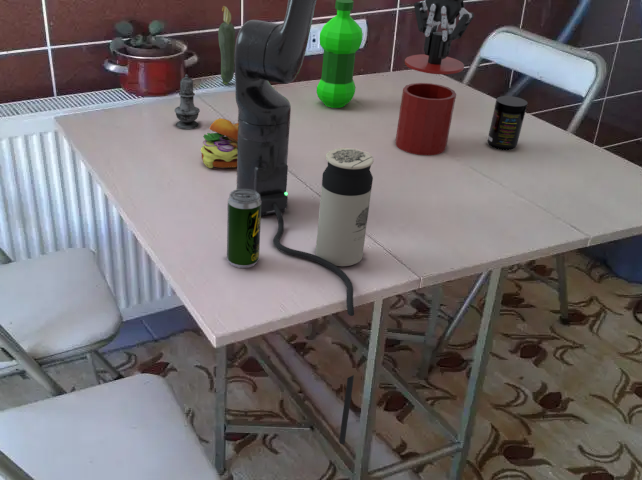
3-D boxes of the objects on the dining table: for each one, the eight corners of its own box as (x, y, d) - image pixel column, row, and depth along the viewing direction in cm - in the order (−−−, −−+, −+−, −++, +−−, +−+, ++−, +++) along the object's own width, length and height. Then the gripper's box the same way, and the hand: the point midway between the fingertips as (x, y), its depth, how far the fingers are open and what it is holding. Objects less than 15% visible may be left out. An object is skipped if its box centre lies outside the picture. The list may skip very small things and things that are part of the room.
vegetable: (237, 86, 198) (238, 7, 187) (222, 88, 196) (223, 9, 185) (229, 81, 201) (230, 4, 190) (215, 83, 199) (215, 5, 188)
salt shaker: (198, 130, 172) (198, 78, 165) (173, 129, 172) (171, 77, 165) (201, 120, 176) (200, 70, 170) (176, 119, 176) (174, 69, 170)
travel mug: (305, 253, 127) (314, 154, 117) (338, 239, 131) (349, 143, 121) (338, 273, 122) (350, 171, 112) (371, 258, 126) (386, 159, 116)
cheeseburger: (187, 160, 157) (195, 113, 153) (223, 159, 164) (231, 113, 161) (220, 175, 151) (229, 126, 147) (256, 173, 159) (265, 126, 155)
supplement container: (522, 150, 168) (533, 105, 162) (494, 152, 167) (505, 106, 161) (507, 139, 174) (518, 95, 168) (481, 140, 172) (490, 96, 167)
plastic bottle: (305, 103, 189) (313, -1, 175) (334, 95, 195) (344, -6, 181) (334, 114, 183) (345, 8, 169) (363, 105, 189) (375, 2, 175)
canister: (455, 147, 169) (466, 92, 162) (425, 159, 162) (435, 103, 155) (415, 132, 175) (424, 79, 168) (385, 143, 169) (393, 89, 162)
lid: (474, 70, 159) (481, 35, 155) (440, 81, 152) (447, 45, 148) (427, 56, 166) (432, 23, 162) (392, 66, 159) (397, 31, 155)
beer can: (223, 267, 122) (224, 201, 116) (230, 250, 127) (231, 186, 120) (256, 270, 122) (259, 204, 115) (261, 254, 126) (264, 190, 119)
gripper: (410, -36, 150) (398, 51, 159) (470, -24, 142) (453, 67, 151) (432, -39, 154) (419, 46, 164) (491, -28, 146) (473, 61, 156)
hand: (435, 56), depth 157 cm, fingers closed on lid, 3 cm apart
